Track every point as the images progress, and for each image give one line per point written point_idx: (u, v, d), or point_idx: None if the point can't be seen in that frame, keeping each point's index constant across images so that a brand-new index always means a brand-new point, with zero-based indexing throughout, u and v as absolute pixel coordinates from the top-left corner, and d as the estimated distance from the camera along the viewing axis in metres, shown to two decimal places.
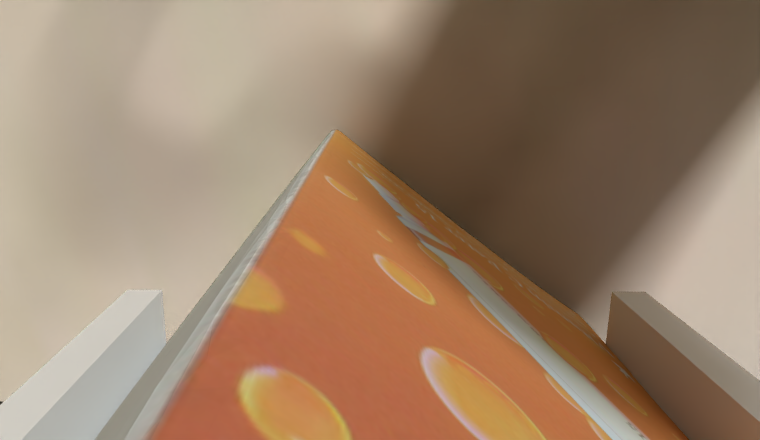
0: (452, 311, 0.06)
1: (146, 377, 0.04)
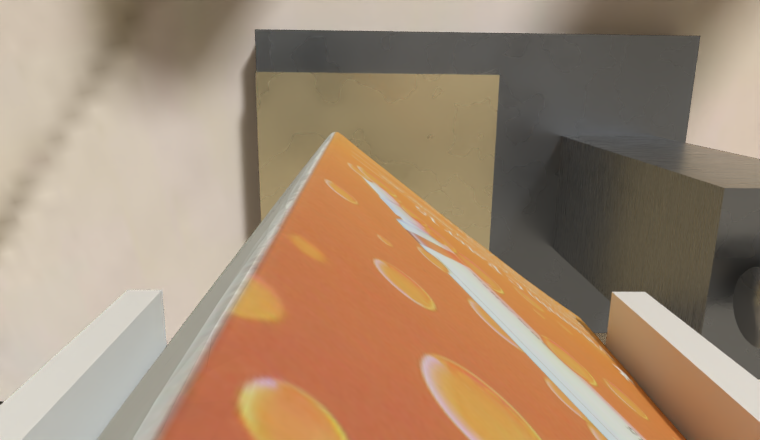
0: (452, 316, 0.06)
1: (145, 384, 0.04)
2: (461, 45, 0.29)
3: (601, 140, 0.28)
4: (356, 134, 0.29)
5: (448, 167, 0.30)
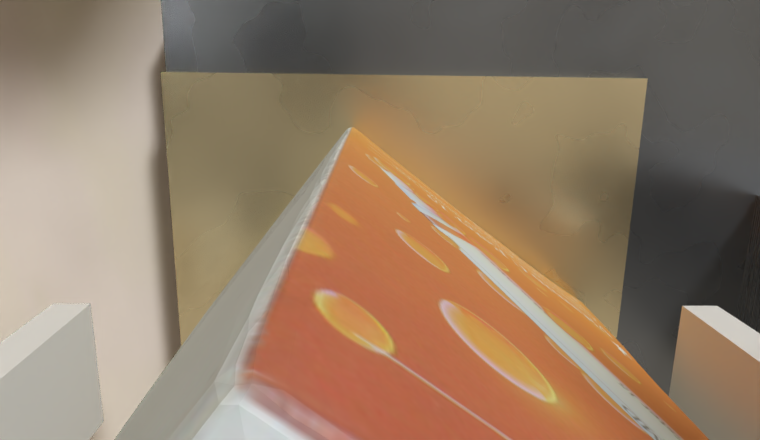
0: (463, 279, 0.07)
1: (213, 323, 0.05)
2: (570, 19, 0.15)
3: None
4: None
5: (538, 256, 0.16)
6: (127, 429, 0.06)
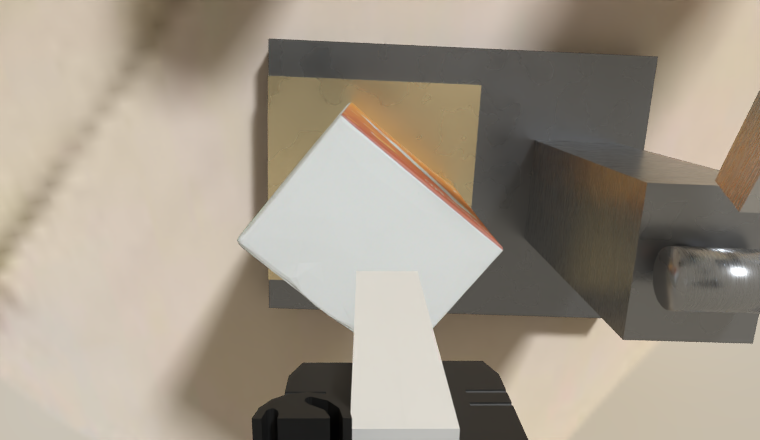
0: (381, 137, 0.25)
1: None
2: (448, 58, 0.33)
3: (568, 145, 0.32)
4: None
5: (434, 164, 0.34)
6: None
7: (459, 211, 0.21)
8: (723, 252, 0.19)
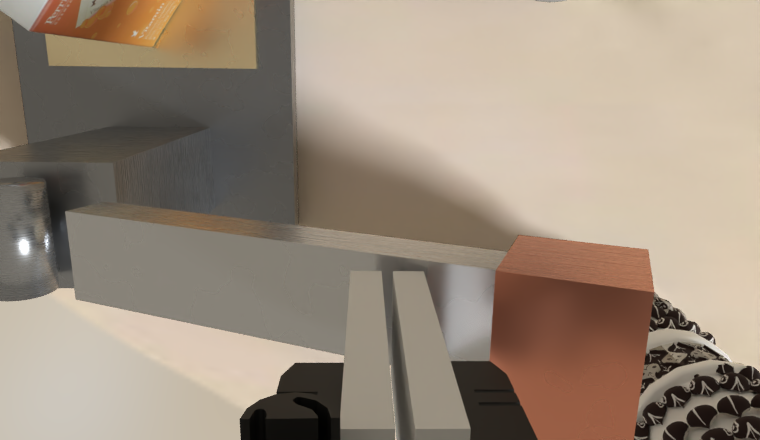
0: None
1: None
2: (280, 35, 0.34)
3: (202, 153, 0.34)
4: None
5: (173, 25, 0.34)
6: None
7: None
8: (41, 226, 0.21)
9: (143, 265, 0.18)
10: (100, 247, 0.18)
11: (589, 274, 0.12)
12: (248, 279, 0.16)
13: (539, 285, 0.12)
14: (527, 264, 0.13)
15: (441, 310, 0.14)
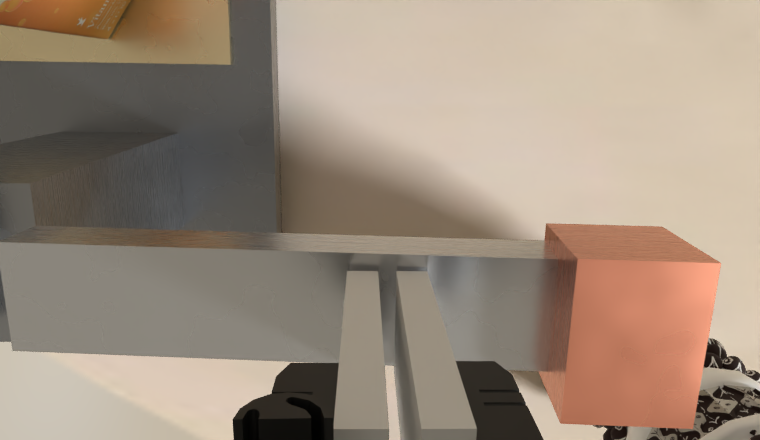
0: None
1: None
2: (258, 25, 0.29)
3: (167, 163, 0.29)
4: None
5: (133, 13, 0.29)
6: None
7: None
8: None
9: (120, 297, 0.15)
10: (53, 282, 0.15)
11: (652, 253, 0.13)
12: (266, 298, 0.15)
13: (619, 268, 0.13)
14: (593, 250, 0.13)
15: (491, 304, 0.14)
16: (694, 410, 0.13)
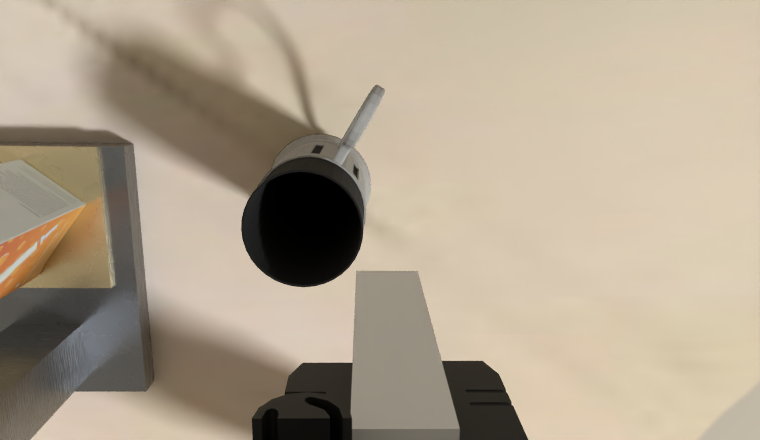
0: (17, 252, 0.40)
1: (0, 222, 0.38)
2: (127, 265, 0.50)
3: (72, 348, 0.49)
4: None
5: (52, 261, 0.49)
6: None
7: None
8: None
9: None
10: None
11: None
12: None
13: None
14: None
15: None
16: None
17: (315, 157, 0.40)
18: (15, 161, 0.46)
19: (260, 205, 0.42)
